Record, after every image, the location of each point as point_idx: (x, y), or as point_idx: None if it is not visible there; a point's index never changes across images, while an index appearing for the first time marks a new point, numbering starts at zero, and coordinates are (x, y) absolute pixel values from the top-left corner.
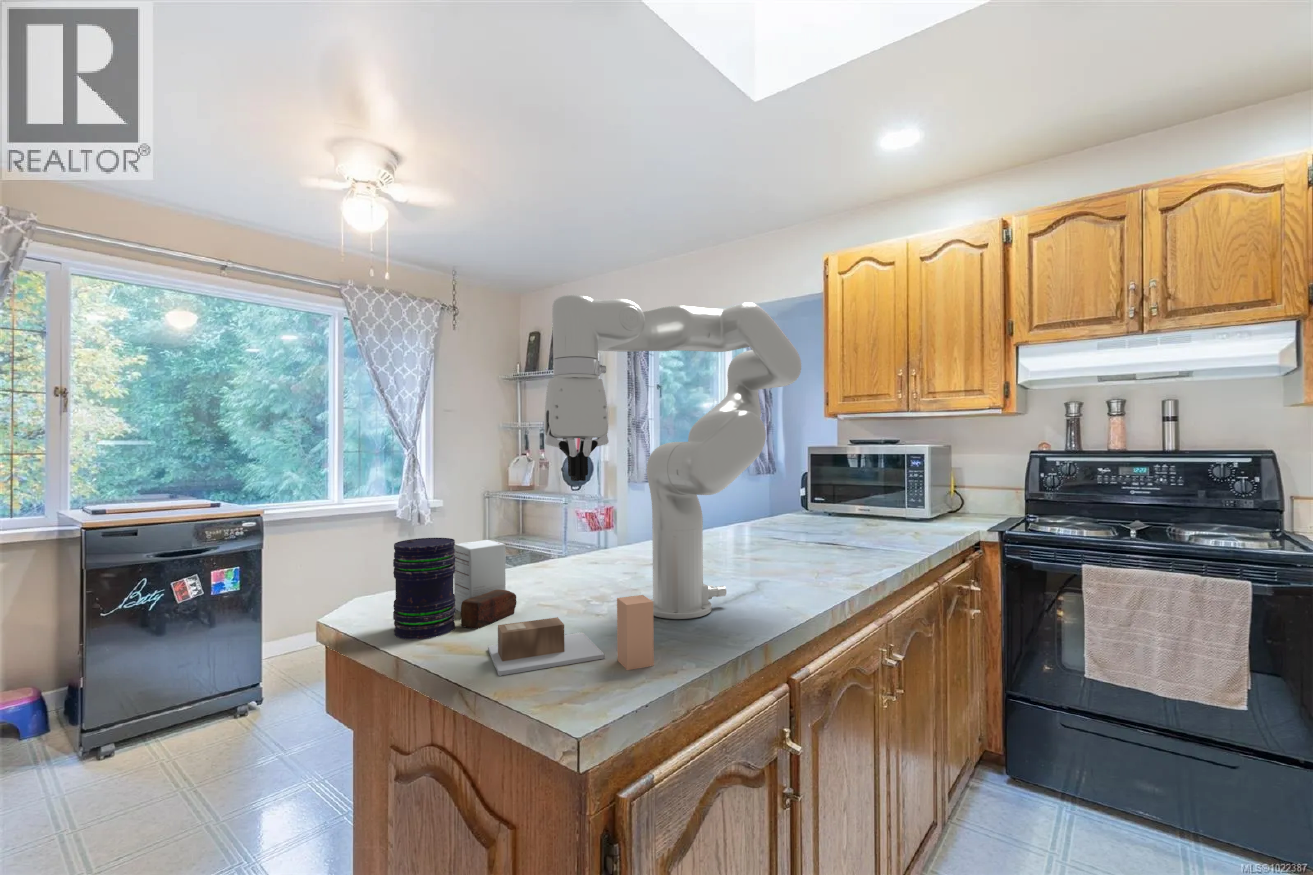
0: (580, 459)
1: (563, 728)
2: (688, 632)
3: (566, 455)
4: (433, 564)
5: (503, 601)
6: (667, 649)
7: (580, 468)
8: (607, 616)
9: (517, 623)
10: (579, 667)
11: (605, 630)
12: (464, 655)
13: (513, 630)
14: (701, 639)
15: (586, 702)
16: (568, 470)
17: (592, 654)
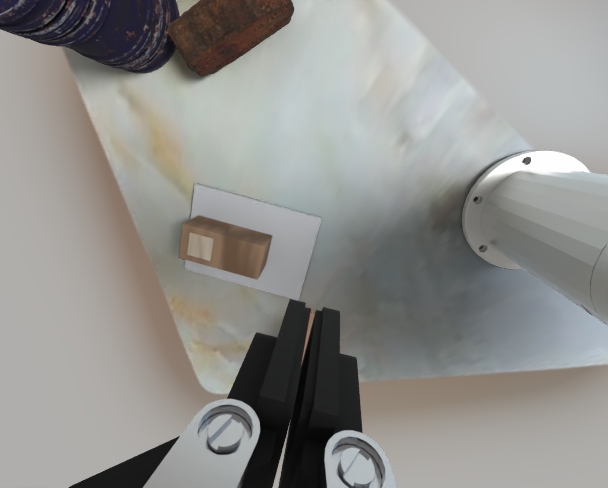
0: (282, 476)
1: (200, 380)
2: (440, 297)
3: (206, 419)
4: (34, 37)
5: (255, 29)
6: (373, 322)
7: (291, 419)
8: (409, 158)
9: (207, 235)
10: (264, 300)
11: (361, 217)
12: (167, 182)
13: (193, 258)
14: (430, 325)
15: (233, 361)
16: (249, 351)
17: (287, 292)
